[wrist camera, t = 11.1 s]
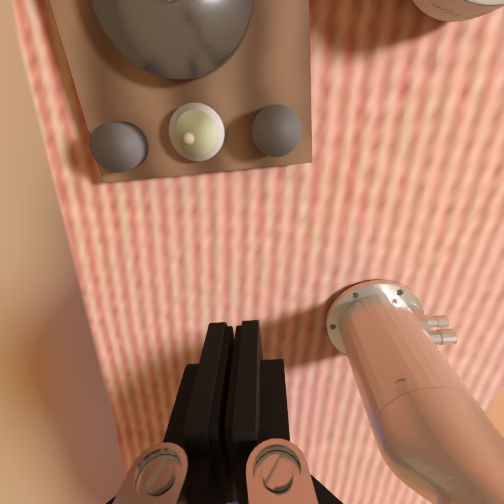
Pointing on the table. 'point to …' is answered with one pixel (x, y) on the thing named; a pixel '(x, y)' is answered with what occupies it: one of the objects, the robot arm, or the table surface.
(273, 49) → the levelling base
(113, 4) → the silver metal dome
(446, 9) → the teacup
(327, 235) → the table surface
